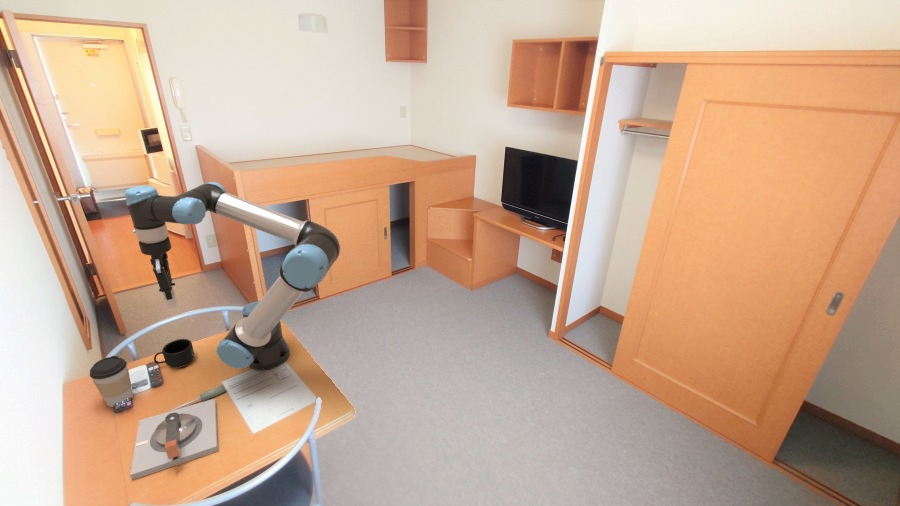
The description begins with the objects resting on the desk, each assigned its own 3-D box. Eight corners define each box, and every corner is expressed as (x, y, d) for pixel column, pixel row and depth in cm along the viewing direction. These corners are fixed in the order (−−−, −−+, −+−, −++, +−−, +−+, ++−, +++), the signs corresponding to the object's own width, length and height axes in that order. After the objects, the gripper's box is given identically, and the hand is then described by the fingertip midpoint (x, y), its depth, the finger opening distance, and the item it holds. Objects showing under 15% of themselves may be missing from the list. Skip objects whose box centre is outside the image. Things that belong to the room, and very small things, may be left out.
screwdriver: (222, 382, 136) (224, 386, 134) (223, 389, 137) (226, 392, 135) (170, 404, 127) (172, 409, 125) (172, 411, 127) (174, 415, 126)
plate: (216, 403, 131) (214, 398, 130) (217, 450, 116) (216, 445, 115) (141, 424, 122) (139, 419, 121) (132, 480, 106) (129, 474, 106)
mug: (194, 350, 153) (190, 335, 150) (196, 364, 147) (192, 349, 144) (156, 361, 147) (151, 345, 144) (157, 376, 140) (151, 360, 137)
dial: (157, 425, 119) (151, 410, 117) (196, 413, 124) (191, 399, 121) (153, 469, 107) (147, 454, 104) (197, 454, 112) (192, 439, 109)
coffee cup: (118, 412, 126) (104, 375, 119) (94, 406, 127) (79, 369, 121) (144, 391, 134) (131, 356, 127) (121, 386, 135) (107, 350, 129)
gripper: (140, 232, 122) (160, 298, 132) (135, 249, 112) (156, 319, 122) (170, 229, 125) (186, 293, 136) (167, 245, 115) (185, 313, 125)
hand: (172, 305), depth 129 cm, fingers closed
